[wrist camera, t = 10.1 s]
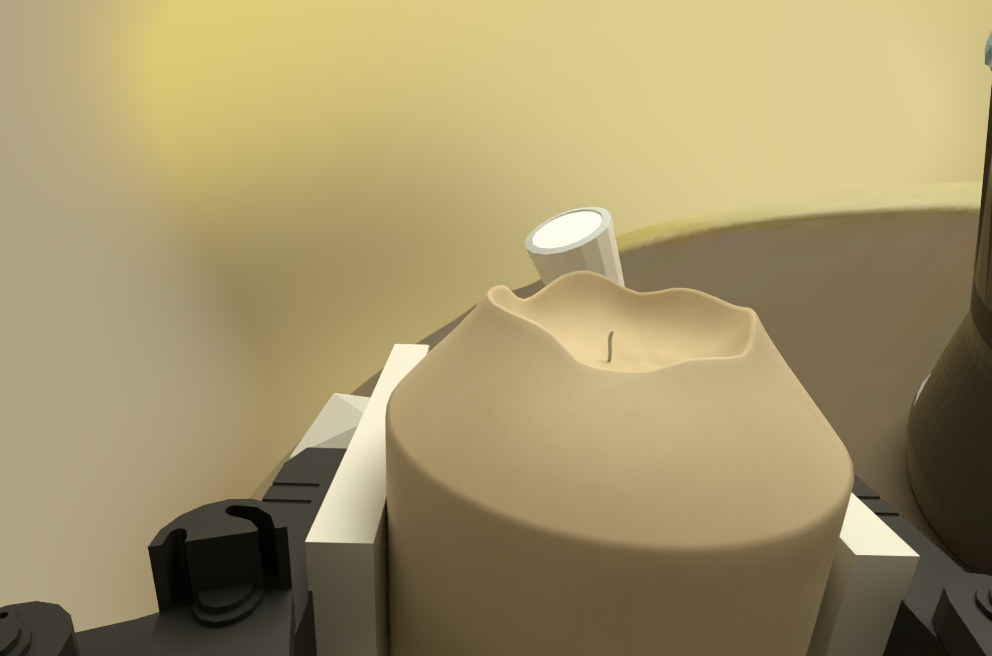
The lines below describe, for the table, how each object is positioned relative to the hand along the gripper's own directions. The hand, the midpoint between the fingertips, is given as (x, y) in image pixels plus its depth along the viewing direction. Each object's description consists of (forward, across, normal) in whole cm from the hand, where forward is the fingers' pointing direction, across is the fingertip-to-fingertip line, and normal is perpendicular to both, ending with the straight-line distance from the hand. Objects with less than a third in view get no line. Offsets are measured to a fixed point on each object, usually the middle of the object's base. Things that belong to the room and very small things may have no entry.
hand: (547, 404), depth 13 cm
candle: (-5, 0, -6) cm, 8 cm away
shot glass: (+32, +8, -6) cm, 34 cm away
